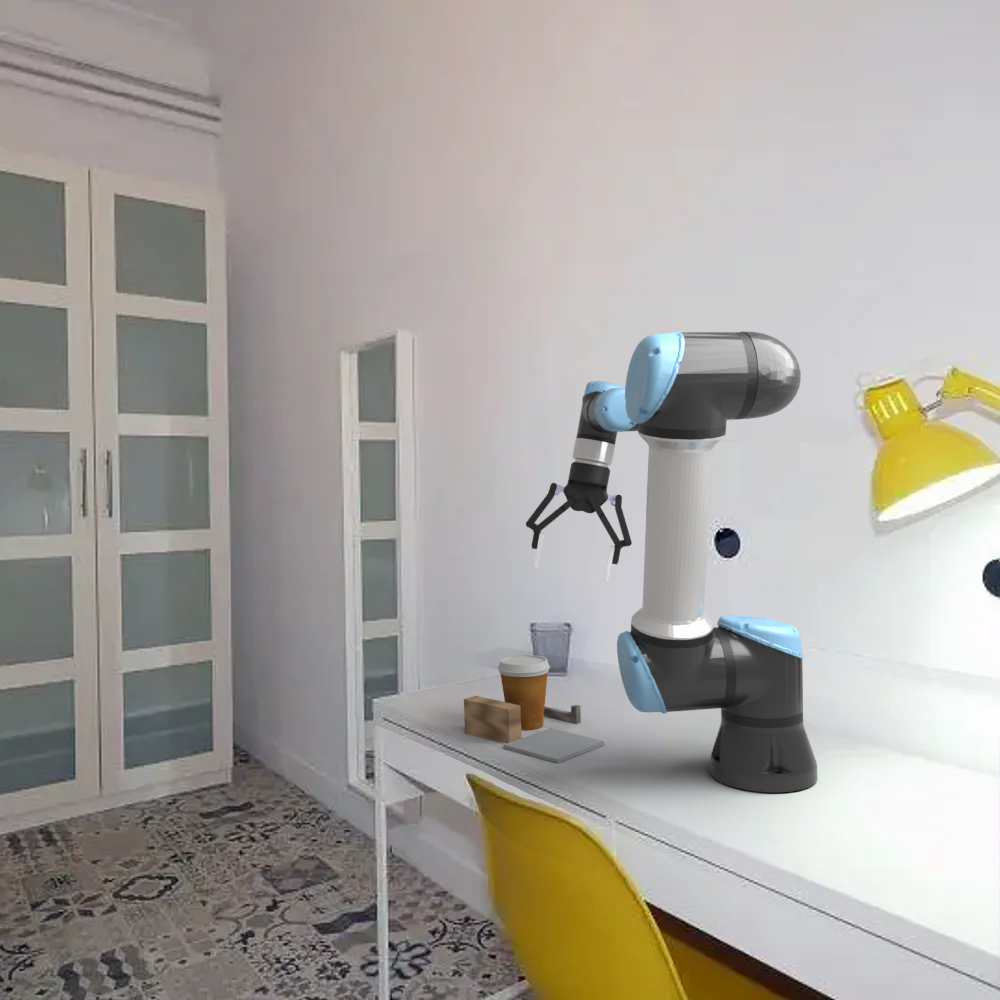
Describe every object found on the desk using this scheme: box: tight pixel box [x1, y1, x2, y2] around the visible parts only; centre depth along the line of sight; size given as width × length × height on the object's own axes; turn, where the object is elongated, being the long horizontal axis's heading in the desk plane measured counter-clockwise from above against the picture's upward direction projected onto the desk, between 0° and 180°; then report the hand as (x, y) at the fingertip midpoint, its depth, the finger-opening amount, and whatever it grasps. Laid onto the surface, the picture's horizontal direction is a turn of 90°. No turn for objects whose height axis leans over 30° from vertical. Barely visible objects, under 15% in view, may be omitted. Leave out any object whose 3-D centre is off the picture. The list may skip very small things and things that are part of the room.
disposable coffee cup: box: [497, 654, 551, 731], centre depth 157 cm, size 10×10×12 cm
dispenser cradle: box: [463, 695, 582, 744], centre depth 156 cm, size 13×18×6 cm
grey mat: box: [502, 727, 606, 764], centre depth 144 cm, size 12×12×1 cm
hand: (570, 573), depth 164 cm, fingers open, 13 cm apart
